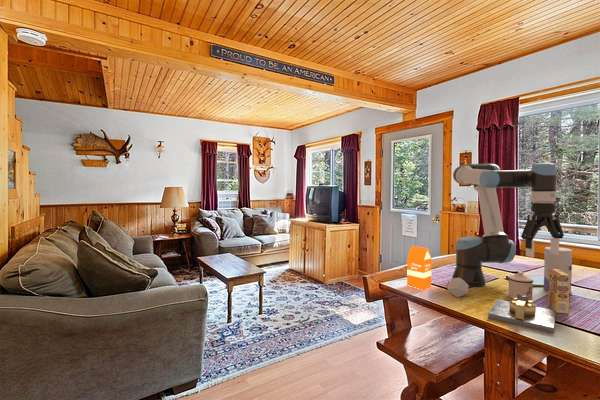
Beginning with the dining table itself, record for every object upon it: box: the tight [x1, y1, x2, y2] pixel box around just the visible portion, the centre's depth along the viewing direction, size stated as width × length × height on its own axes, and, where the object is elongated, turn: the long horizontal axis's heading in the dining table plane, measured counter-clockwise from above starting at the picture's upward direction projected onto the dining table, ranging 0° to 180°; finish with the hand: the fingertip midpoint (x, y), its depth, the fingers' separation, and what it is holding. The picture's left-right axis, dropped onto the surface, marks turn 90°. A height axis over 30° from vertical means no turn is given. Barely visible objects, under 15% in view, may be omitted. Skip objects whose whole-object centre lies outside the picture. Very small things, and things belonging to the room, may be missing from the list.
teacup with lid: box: [507, 271, 534, 301], centre depth 138 cm, size 12×9×12 cm
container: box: [543, 246, 573, 294], centre depth 146 cm, size 10×10×20 cm
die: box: [447, 277, 470, 298], centre depth 141 cm, size 8×9×10 cm
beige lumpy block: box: [509, 298, 537, 320], centre depth 115 cm, size 13×8×5 cm, turn 139°
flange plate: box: [487, 294, 557, 334], centre depth 117 cm, size 19×19×8 cm
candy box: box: [548, 269, 570, 315], centre depth 124 cm, size 9×4×15 cm, turn 159°
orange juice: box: [406, 245, 432, 291], centre depth 154 cm, size 8×9×20 cm
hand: (542, 255), depth 124 cm, fingers open, 13 cm apart
